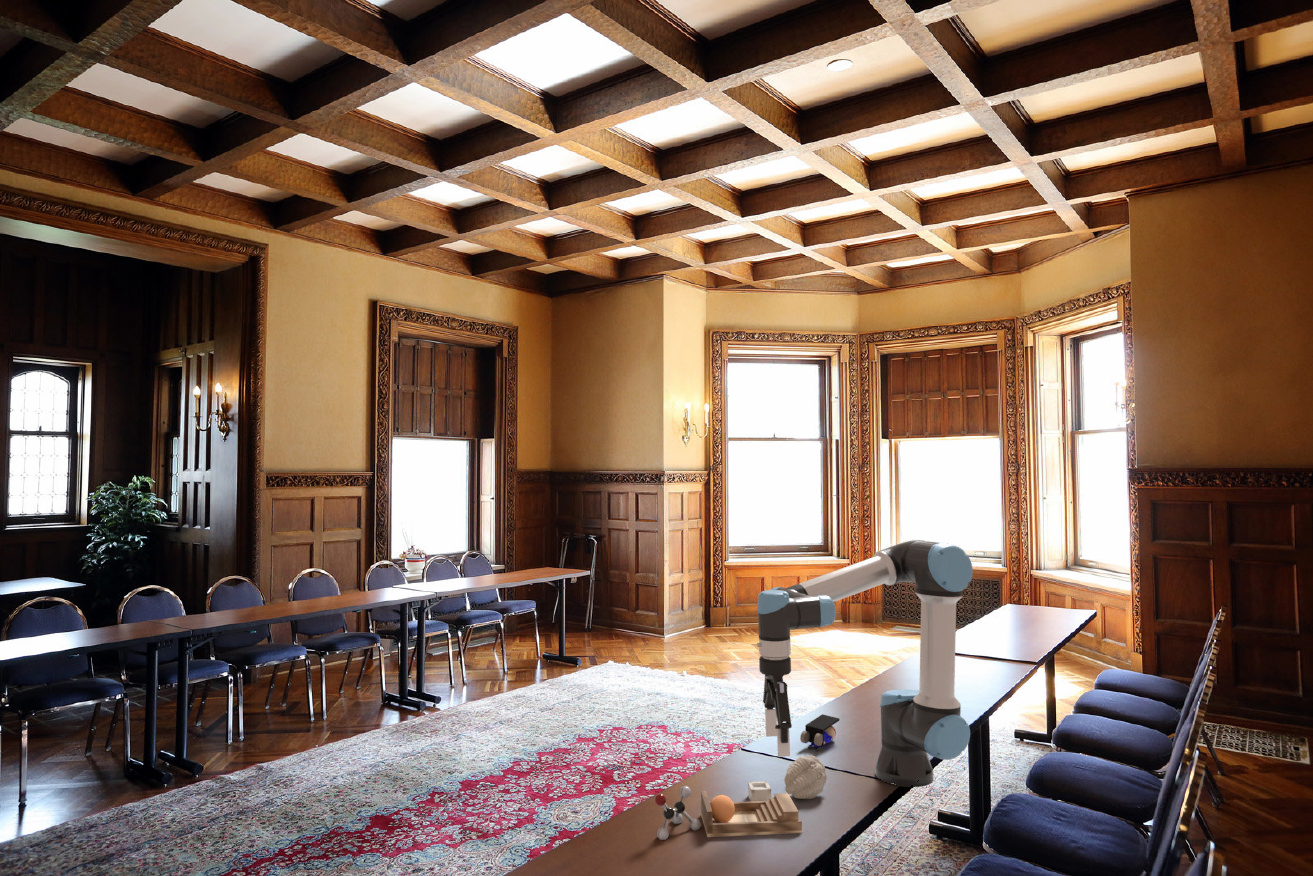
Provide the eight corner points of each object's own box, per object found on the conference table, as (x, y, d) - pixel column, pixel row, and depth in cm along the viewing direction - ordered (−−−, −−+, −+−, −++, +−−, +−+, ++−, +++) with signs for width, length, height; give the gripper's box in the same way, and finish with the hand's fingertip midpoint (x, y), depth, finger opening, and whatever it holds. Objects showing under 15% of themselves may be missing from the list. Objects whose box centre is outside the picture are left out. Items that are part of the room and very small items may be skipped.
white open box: (767, 796, 207) (767, 781, 207) (771, 804, 202) (771, 789, 202) (748, 797, 206) (748, 782, 206) (751, 805, 201) (751, 790, 201)
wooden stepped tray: (790, 813, 196) (789, 787, 197) (802, 835, 184) (801, 808, 185) (701, 816, 195) (700, 790, 195) (707, 839, 183) (707, 811, 183)
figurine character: (820, 759, 237) (841, 739, 248) (818, 734, 236) (840, 715, 248) (800, 754, 241) (822, 735, 253) (798, 729, 240) (820, 711, 252)
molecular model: (703, 830, 188) (702, 784, 188) (671, 849, 179) (670, 800, 179) (676, 820, 193) (675, 775, 193) (643, 838, 184) (643, 791, 184)
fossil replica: (793, 807, 200) (792, 767, 200) (776, 795, 207) (775, 756, 208) (834, 800, 204) (833, 760, 204) (815, 788, 212) (815, 749, 212)
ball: (711, 819, 192) (735, 812, 192) (714, 830, 186) (739, 823, 186) (705, 795, 192) (728, 788, 193) (708, 805, 186) (732, 798, 187)
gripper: (749, 645, 204) (752, 729, 203) (770, 670, 179) (772, 766, 178) (778, 644, 204) (781, 727, 204) (803, 668, 179) (806, 764, 179)
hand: (777, 745), depth 191 cm, fingers open, 13 cm apart
